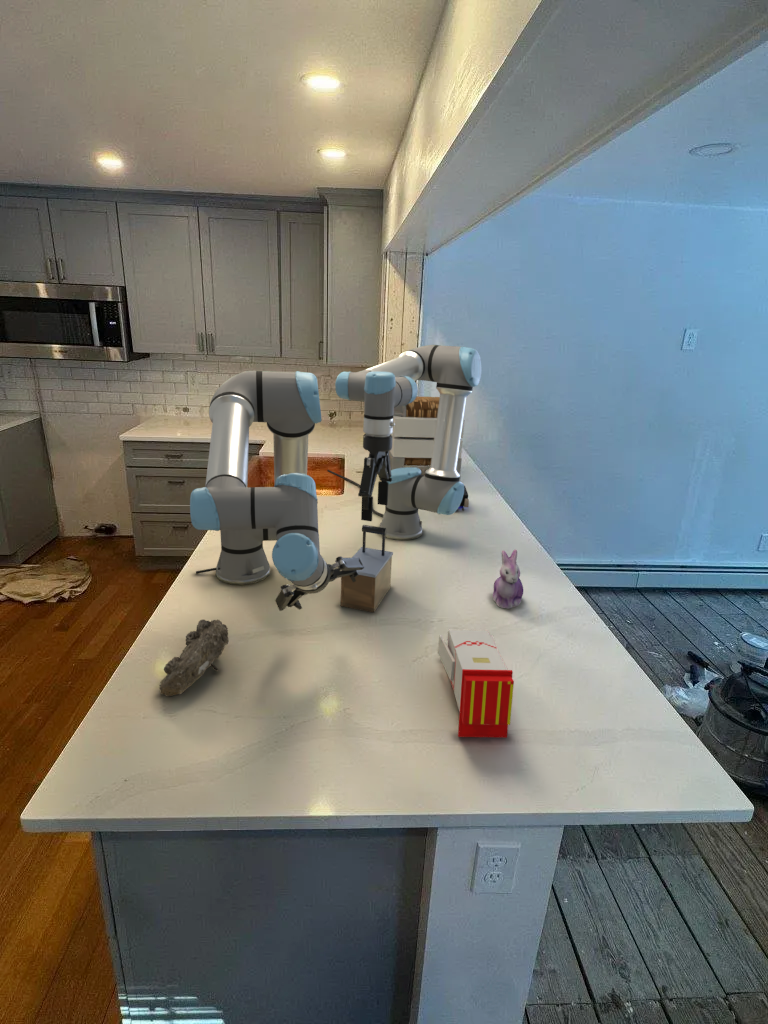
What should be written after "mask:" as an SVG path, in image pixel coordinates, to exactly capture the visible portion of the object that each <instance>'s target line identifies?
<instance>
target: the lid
mask: <svg viewBox="0 0 768 1024" xmlns="http://www.w3.org/2000/svg"><path fill="white" fill-rule="evenodd" d="M361 532H362V545H361V546H360V548H358V550H357V551H356V552H355V553H354V554H353V555H352V556H351V558H360V560H361V562H362V564H363V566H364V568H363V569H362V570H357V572H358V574H359V575H363V576H369V577H374V578H375V577H376V576H377V575H378V573H379V572H380V571H381V569H382V568H383V567H384V565H385V564H386V563H387V562H388V560H389V559H390V558H391V556H392V557H393V555H394V552H393V551H389V550H386V537H385V536H386V533H387V528H382V527H379V526H374V525H369V524H362V526H361ZM367 533H368V534H375V535H379V536H380V535H381V536H382V537H381V549H377V548H371V547H366V546H367V545H366V543H367V542H366V541H367Z"/></svg>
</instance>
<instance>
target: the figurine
mask: <svg viewBox="0 0 768 1024" xmlns="http://www.w3.org/2000/svg"><path fill="white" fill-rule="evenodd" d="M517 557H518V549H516V548H515V549H514V550H513V551H512V552H511V554H510V556H509V555H508V553H507V552H506V551H505V550H504V549H503V550H501V566H500V569H499V577H497V578H496V579H495V580H494V583H493V591H492V600H493V601H494V603H495V604H496V606H497V607H499V608H504V609H512V608H515V607H518V606H519V605H520V604H521V602H522V599H523V596H524V585H523V582H522V580H521V579H520V576H521V570H520V567H519V565H518V563H517V559H518V558H517Z"/></svg>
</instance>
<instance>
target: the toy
mask: <svg viewBox="0 0 768 1024" xmlns="http://www.w3.org/2000/svg"><path fill="white" fill-rule="evenodd" d="M446 640H447V643H446V641H445V639H444V636H443V635H442V634H439V637H438V646H437V656H438V657H439V659H440V661H441V663H442V666H443V668H444V670H445V672H446V674H447V677H448V679H449V681H450V684H451V687H452V690H453V693H454V697H455V701H456V705H457V708H458V711H459V714H458V715H459V716H458V730H457V731H458V732H457V737H458V738H508V731H509V726H510V725H511V717H512V707H513V697H514V696H513V695H514V684H515V680H514V679H513V673H514V671H513V670H512V669H508V667H507V665H506V662H505V661H504V659H503V658H502V655H501V653H500V651H499V649H498V647H497V643H496V639H495V637H494V635H493V634H491V632H490V631H489V629H467V628H466V629H465V628H463V629H461V628H460V629H459V628H448V630H447V639H446Z"/></svg>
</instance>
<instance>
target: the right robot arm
mask: <svg viewBox="0 0 768 1024" xmlns="http://www.w3.org/2000/svg"><path fill="white" fill-rule="evenodd" d="M482 370H483V368H482V359H481V355H480V354H479V352H478V350H477V349H475V348H473V347H467V346H459V345H458V346H455V345H441V344H426V345H421V346H418V347H415V348H411V349H408V350H405V351H403V352H402V353H400V354H399V356H397V357H396V358H392V359H390V360H388V361H385V362H382V363H379V364H375V365H374V366H371V367H368V368H365V369H362V370H360V371H357V372H354V371H341V372H339V374H338V375H337V377H336V379H335V383H334V386H335V393H336V395H337V396H338V397H339V398H340V399H342V400H348V401H350V402H351V401H354V402H361V403H363V402H364V403H363V404H364V405H363V411H364V413H363V423H362V424H363V426H362V427H363V428H362V432H363V433H364V434H363V435H362V436H363V437H362V448H363V449H364V450H365V451H368V453H369V454H368V456H366V457H365V456H364V459H363V469H362V474H361V480H360V484H359V483H358V482H357V481H354V480H352V479H350V478H348V477H346V476H343V475H341V474H339V473H336V472H334V471H333V470H330V469H327V470H326V472H328V473H330V474H331V475H334V476H336V477H338V478H341V479H342V480H345V481H347V482H350V483H351V484H353V485H354V486H356V487H358V488H359V490H358V494H357V495H358V497H361V510H360V511H361V512H360V513H361V515H360V517H361V518H360V520H361V521H365V522H372V521H373V514H374V515H377V516H379V517H382V519H381V522H379V525H378V527H382V528H387V533H386V536H385V538H387V539H389V540H395V541H410V540H415V539H418V538H420V537H421V536H422V535H423V525H422V524H423V522H422V520H421V518H420V515H419V510H421V511H426V512H429V513H435V514H438V515H445V516H451V515H453V514H454V513H456V512H457V511H458V509H459V508H458V507H459V506H460V503H461V501H462V498H463V495H464V486H465V484H464V483H463V482H462V481H461V474H460V475H459V474H458V472H457V471H456V468H457V461H458V454H459V447H460V440H462V438H461V433H462V426H463V419H464V417H465V411H466V404H467V397H468V396H470V394H472V393H473V389H474V388H475V387H477V386H478V385H479V384H480V382H481V378H482ZM416 381H425V382H432V383H436V386H435V389H436V390H437V391H438V393H439V397H440V398H439V406H438V413H437V421H436V429H435V436H434V444H433V451H432V459H431V465H430V466H429V468H427V469H426V470H424V474H422V470H421V468H419V467H414V466H411V467H409V466H406V467H405V466H404V468H397V469H393V470H391V468H390V459H389V451H390V450H391V449H392V435H390V434H392V433H393V426H395V423H393V414H394V408H395V407H399V406H405V405H407V404H409V403H411V402H413V401H414V400H415V398H416V397H417V396H418V391H419V389H418V385H417V383H416ZM464 420H465V419H464ZM377 476H378V479H379V481H377V483H378V485H377V505H380V506H385V507H384V508H385V509H384V513H381V512H378V511H376V510H375V509H374V496H373V492H374V489H375V484H376V480H377ZM459 479H460V481H459ZM456 510H457V511H456Z"/></svg>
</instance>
